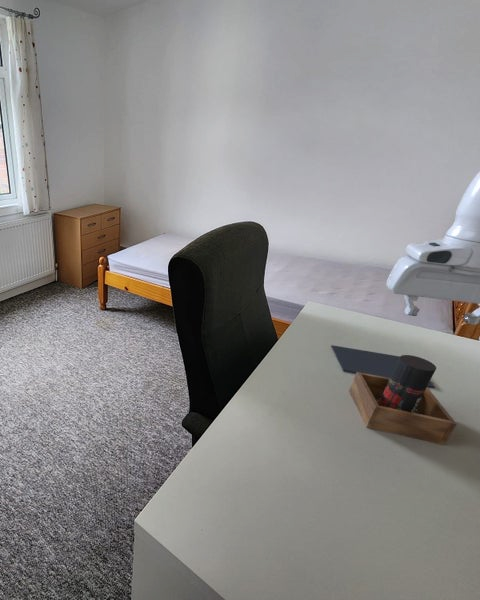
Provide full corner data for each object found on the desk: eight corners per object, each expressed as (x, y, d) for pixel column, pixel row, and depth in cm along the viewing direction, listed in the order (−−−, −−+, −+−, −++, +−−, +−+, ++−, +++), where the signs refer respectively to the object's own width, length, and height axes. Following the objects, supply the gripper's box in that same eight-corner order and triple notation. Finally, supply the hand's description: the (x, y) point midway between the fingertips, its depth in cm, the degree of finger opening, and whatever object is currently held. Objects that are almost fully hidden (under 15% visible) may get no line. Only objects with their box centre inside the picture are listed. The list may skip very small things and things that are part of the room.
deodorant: (377, 402, 84) (401, 351, 78) (409, 415, 80) (437, 362, 74) (373, 415, 80) (398, 362, 74) (407, 428, 76) (435, 374, 70)
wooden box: (415, 404, 83) (425, 384, 81) (444, 445, 72) (457, 424, 69) (349, 390, 88) (356, 371, 86) (366, 427, 77) (375, 406, 74)
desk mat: (410, 359, 100) (411, 358, 100) (434, 388, 89) (435, 386, 88) (331, 346, 107) (331, 345, 107) (343, 371, 96) (343, 369, 95)
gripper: (535, 255, 63) (497, 320, 68) (397, 244, 70) (373, 304, 75) (563, 265, 57) (519, 335, 63) (411, 252, 64) (384, 316, 70)
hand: (438, 318), depth 69 cm, fingers open, 8 cm apart
